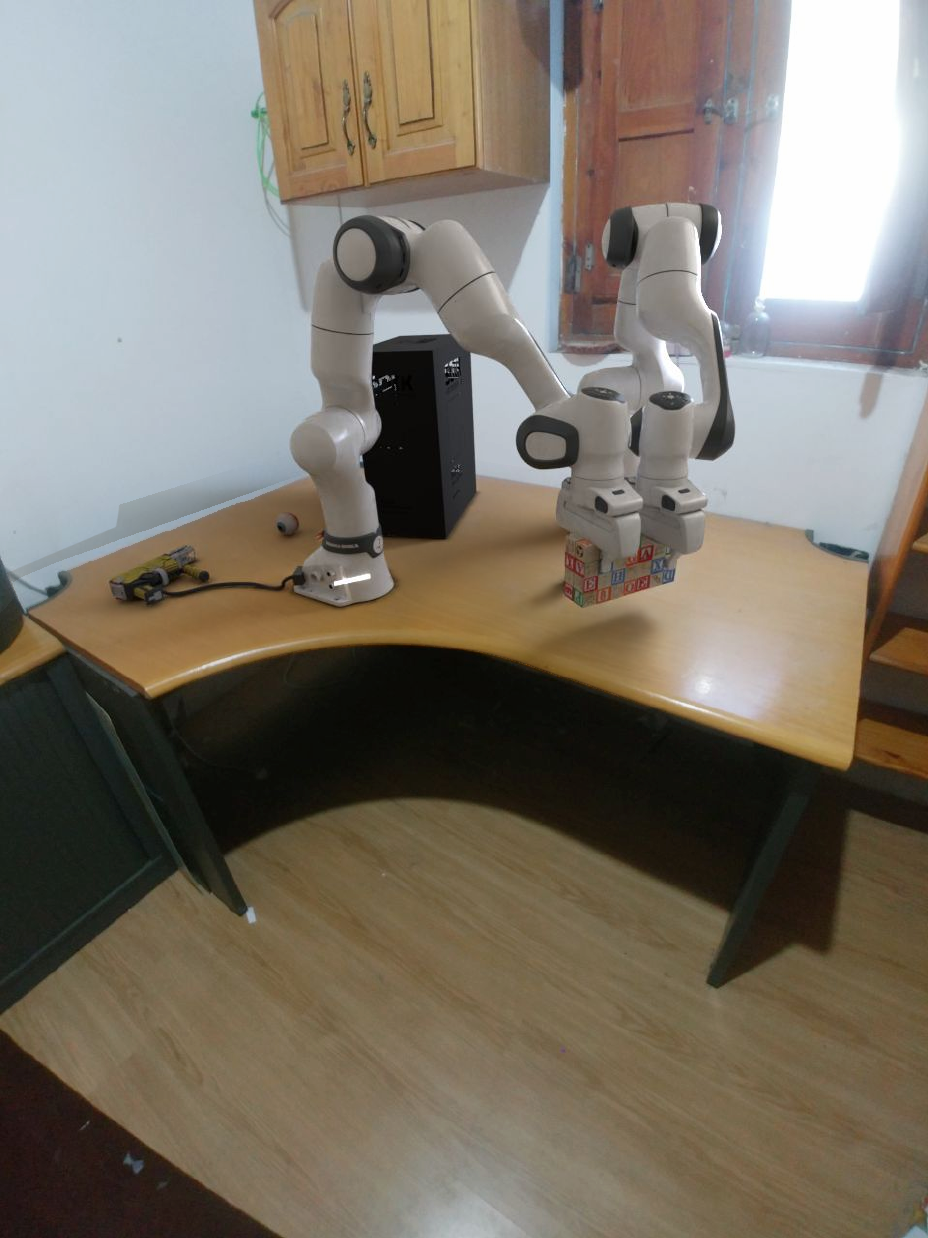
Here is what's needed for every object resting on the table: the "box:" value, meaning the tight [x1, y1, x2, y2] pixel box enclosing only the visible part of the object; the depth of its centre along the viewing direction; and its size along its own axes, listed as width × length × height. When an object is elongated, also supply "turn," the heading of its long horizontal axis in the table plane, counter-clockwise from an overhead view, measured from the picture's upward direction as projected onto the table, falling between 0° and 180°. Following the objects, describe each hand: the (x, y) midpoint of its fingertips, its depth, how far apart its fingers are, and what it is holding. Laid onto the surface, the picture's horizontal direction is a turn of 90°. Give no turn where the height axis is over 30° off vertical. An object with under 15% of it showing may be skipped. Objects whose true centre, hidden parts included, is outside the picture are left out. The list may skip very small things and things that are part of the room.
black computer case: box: [361, 333, 477, 540], centre depth 163 cm, size 38×20×45 cm, turn 167°
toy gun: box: [108, 544, 210, 607], centre depth 141 cm, size 5×24×15 cm
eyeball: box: [275, 511, 300, 536], centre depth 163 cm, size 6×6×6 cm
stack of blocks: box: [563, 531, 677, 609], centre depth 112 cm, size 21×6×12 cm, turn 115°
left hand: (591, 563), depth 110 cm, fingers closed on stack of blocks, 6 cm apart
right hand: (652, 559), depth 115 cm, fingers open, 8 cm apart
